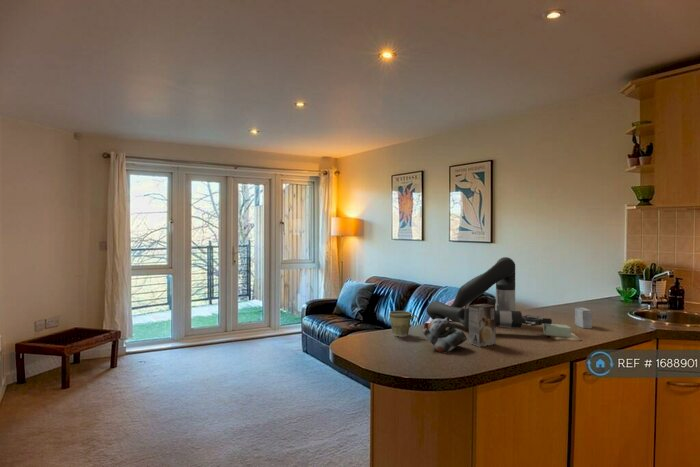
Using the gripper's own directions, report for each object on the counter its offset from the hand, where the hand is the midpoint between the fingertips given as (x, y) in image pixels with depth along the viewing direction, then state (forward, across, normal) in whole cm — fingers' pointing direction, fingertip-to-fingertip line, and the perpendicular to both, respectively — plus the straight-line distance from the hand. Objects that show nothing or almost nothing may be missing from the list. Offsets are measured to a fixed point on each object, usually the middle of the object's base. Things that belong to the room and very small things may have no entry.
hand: (551, 321), depth 191 cm
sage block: (-3, 0, -4) cm, 4 cm away
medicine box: (+19, -25, -7) cm, 32 cm away
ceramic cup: (-64, +14, -8) cm, 65 cm away
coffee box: (-30, +21, -7) cm, 37 cm away
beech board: (+6, 0, -7) cm, 9 cm away
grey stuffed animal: (-45, +31, -7) cm, 55 cm away
